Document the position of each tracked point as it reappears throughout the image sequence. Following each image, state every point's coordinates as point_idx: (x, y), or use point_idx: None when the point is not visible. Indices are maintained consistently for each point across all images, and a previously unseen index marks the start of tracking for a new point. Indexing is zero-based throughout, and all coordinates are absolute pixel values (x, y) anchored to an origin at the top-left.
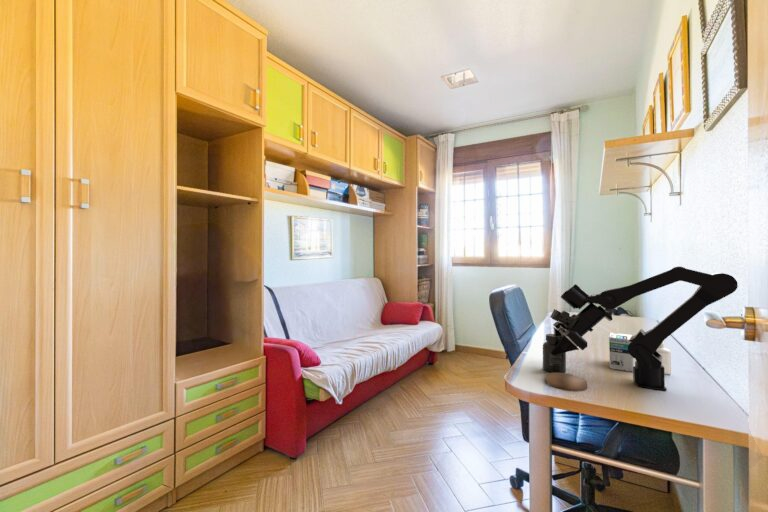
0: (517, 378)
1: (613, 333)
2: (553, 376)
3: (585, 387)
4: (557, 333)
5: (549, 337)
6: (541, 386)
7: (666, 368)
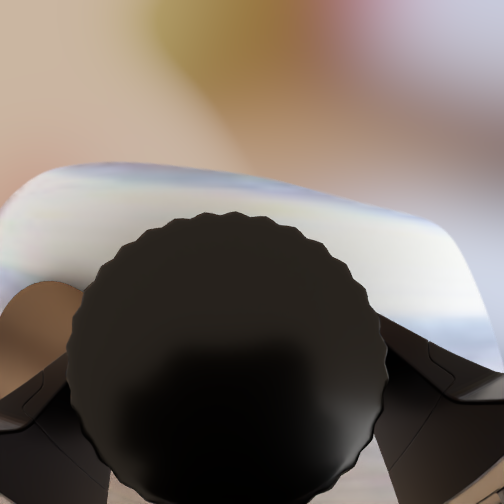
0: (87, 183)
1: None
2: (57, 320)
3: None
4: (469, 436)
5: (113, 270)
6: (22, 263)
7: None
